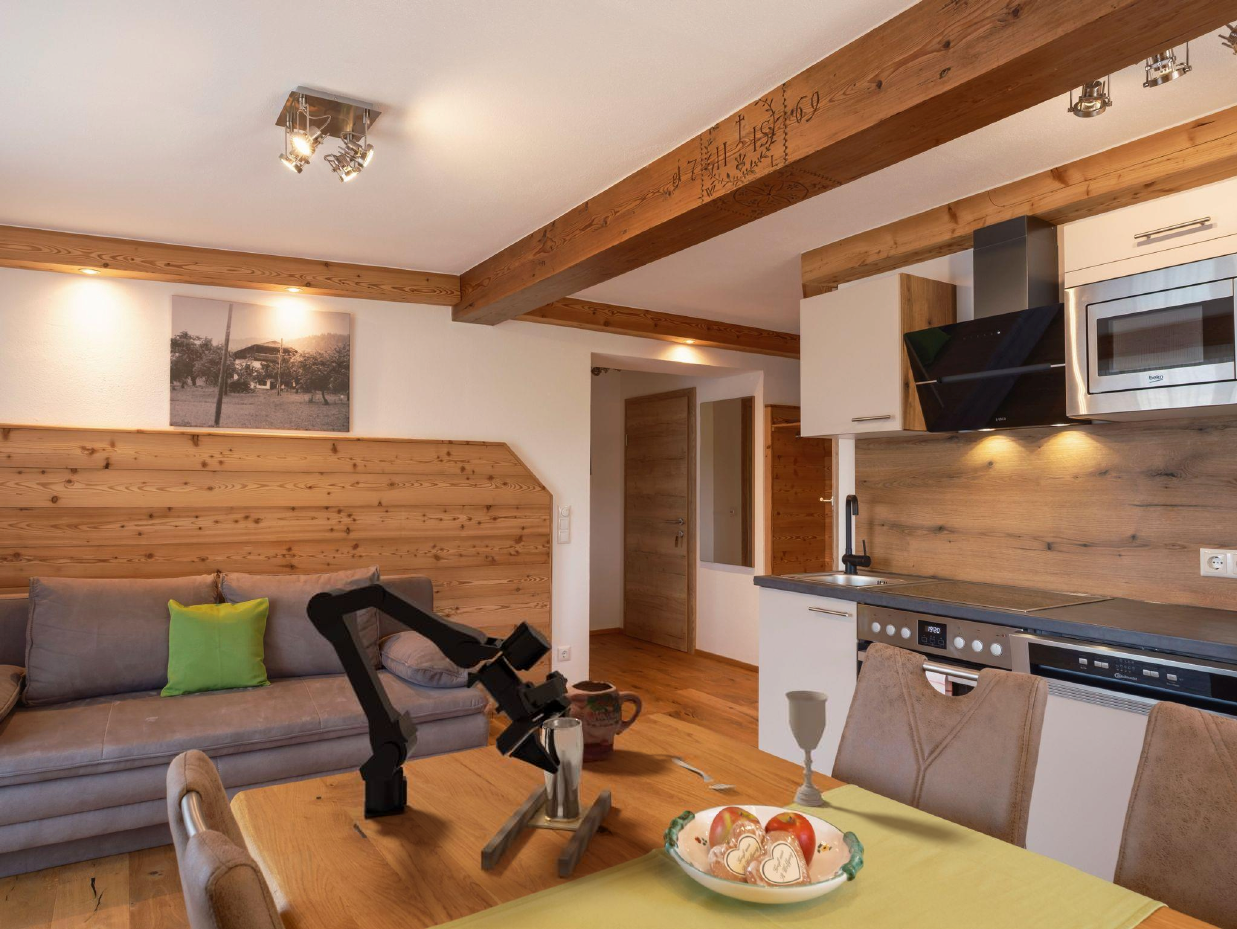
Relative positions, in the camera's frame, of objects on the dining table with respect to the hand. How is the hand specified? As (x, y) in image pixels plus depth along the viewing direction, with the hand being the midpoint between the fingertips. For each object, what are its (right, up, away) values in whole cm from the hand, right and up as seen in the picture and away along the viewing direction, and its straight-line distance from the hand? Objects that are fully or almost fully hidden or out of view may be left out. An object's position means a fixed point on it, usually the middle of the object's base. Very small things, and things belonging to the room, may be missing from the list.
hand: (568, 763), depth 132 cm
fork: (+23, -10, +20) cm, 32 cm away
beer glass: (-1, -9, 0) cm, 9 cm away
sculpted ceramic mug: (+4, -10, +32) cm, 34 cm away
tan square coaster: (-1, -9, 0) cm, 9 cm away
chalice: (+41, -9, +6) cm, 43 cm away
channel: (-2, -9, -6) cm, 11 cm away
